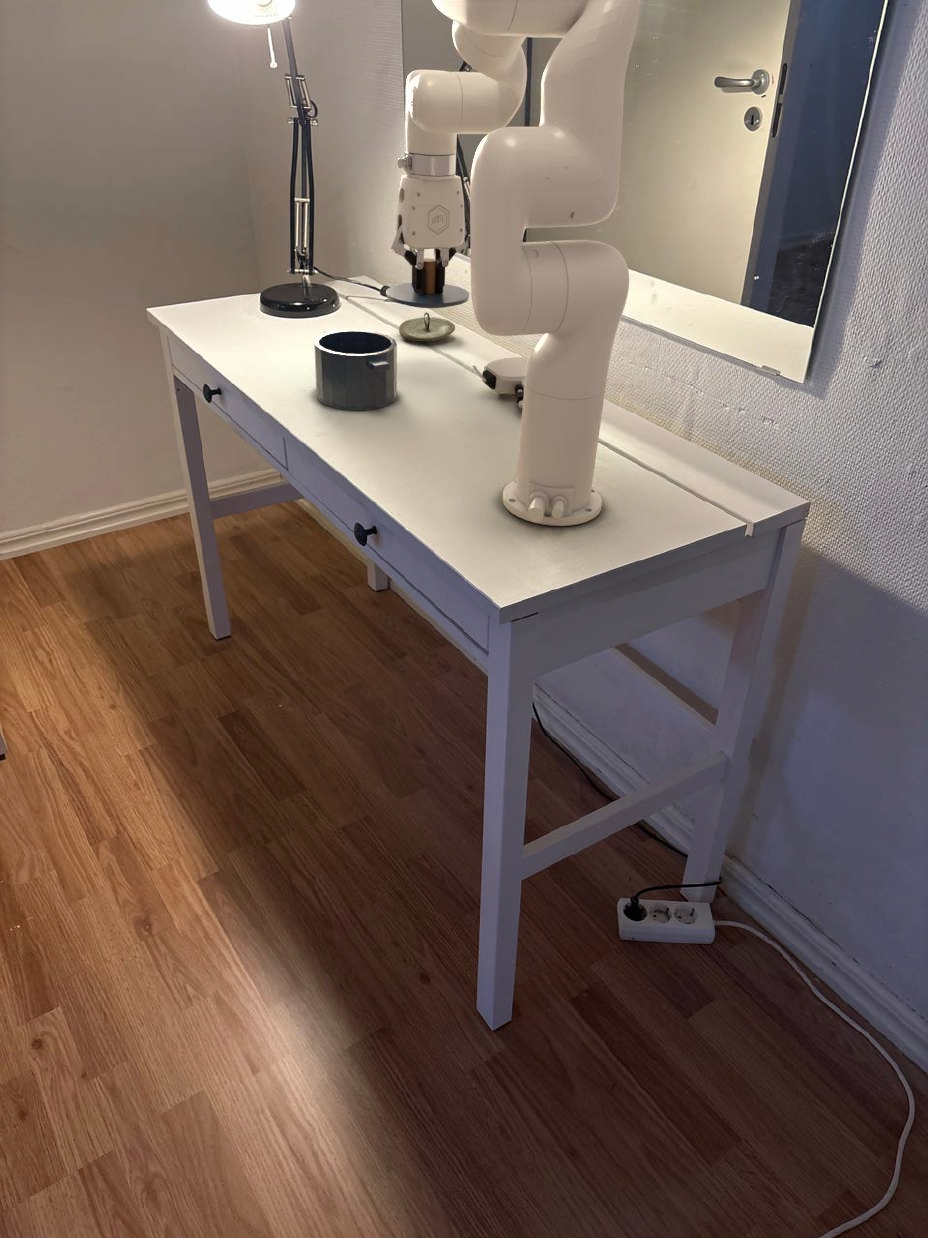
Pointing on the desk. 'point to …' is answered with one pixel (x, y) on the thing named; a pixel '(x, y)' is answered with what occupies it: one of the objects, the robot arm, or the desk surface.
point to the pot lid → (428, 292)
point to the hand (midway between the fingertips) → (428, 291)
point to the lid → (426, 328)
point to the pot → (355, 369)
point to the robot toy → (506, 376)
